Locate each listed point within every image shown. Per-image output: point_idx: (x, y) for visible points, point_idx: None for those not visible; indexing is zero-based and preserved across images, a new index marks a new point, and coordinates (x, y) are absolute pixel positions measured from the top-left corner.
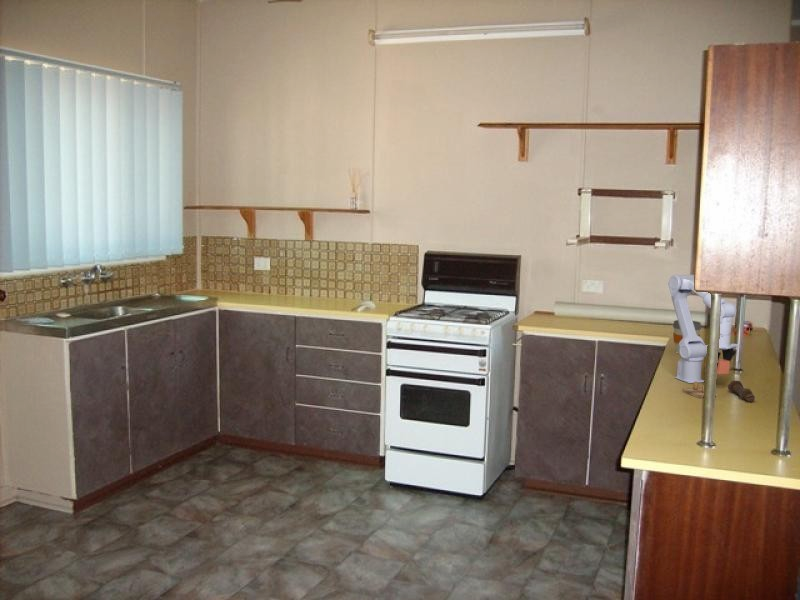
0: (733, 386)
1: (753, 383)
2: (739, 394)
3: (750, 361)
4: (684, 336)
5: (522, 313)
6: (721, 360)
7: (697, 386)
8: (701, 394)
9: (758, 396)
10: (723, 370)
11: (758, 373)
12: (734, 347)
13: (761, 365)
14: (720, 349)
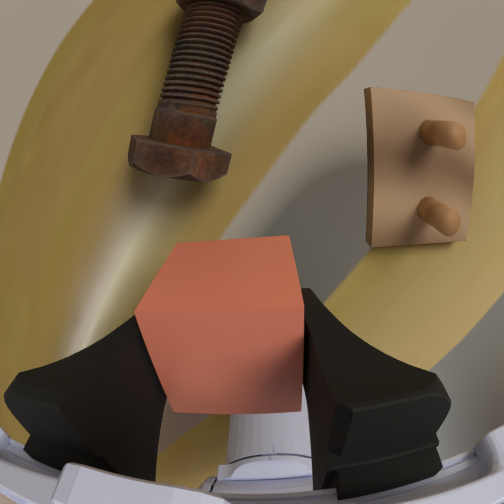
0: (208, 130)
1: (31, 303)
2: (265, 1)
3: (23, 436)
4: None
5: None
6: (231, 357)
7: (436, 203)
8: (459, 111)
9: (101, 74)
10: (237, 253)
11: (10, 380)
12: (10, 459)
13: (5, 413)
14: (241, 502)
